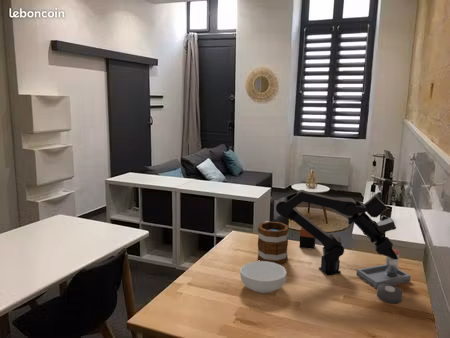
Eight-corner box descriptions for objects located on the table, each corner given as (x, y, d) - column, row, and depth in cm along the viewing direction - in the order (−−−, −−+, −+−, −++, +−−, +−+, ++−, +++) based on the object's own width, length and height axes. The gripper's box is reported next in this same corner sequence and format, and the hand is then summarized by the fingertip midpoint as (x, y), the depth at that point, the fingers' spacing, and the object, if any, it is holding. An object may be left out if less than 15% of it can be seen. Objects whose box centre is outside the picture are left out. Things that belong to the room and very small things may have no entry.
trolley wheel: (388, 305, 125) (389, 295, 124) (371, 293, 132) (372, 284, 132) (406, 301, 128) (407, 291, 127) (389, 290, 135) (390, 280, 134)
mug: (292, 265, 155) (293, 231, 152) (260, 267, 154) (261, 232, 151) (279, 246, 174) (280, 216, 172) (251, 248, 173) (252, 217, 170)
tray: (376, 288, 136) (376, 282, 136) (356, 275, 146) (356, 269, 146) (410, 281, 141) (410, 275, 141) (388, 269, 151) (389, 263, 151)
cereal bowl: (291, 282, 141) (291, 265, 140) (278, 304, 126) (279, 285, 125) (249, 273, 148) (249, 257, 147) (233, 293, 133) (233, 275, 132)
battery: (314, 249, 171) (315, 229, 170) (299, 247, 174) (300, 227, 172) (315, 246, 175) (316, 225, 174) (300, 244, 178) (301, 224, 176)
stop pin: (386, 276, 143) (388, 252, 141) (383, 271, 147) (385, 248, 145) (398, 277, 142) (401, 253, 140) (395, 272, 147) (397, 248, 145)
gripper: (388, 219, 132) (418, 251, 132) (378, 204, 150) (405, 232, 150) (363, 238, 135) (393, 269, 135) (356, 222, 153) (382, 249, 153)
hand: (394, 254), depth 143 cm, fingers open, 9 cm apart
